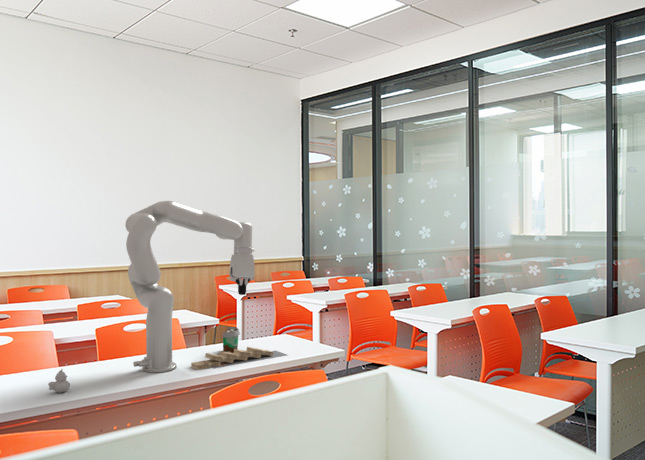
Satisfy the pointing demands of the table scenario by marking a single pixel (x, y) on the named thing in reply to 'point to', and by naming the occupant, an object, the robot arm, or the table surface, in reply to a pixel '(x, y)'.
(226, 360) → the domino
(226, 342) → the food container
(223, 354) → the domino
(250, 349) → the domino
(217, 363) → the domino
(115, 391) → the table surface
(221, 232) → the robot arm
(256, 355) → the domino
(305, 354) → the table surface
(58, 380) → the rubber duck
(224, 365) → the domino mat
